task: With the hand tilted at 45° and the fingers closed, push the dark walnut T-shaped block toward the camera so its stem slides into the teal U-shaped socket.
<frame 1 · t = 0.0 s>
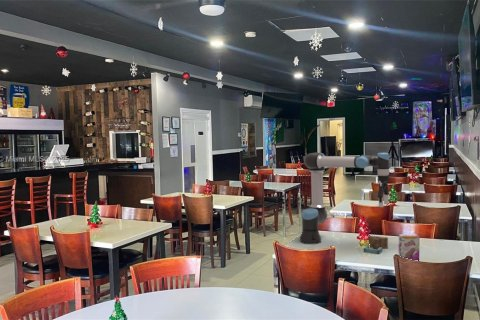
hand: (383, 205, 291), 28 cm above the table, tool pointing down, fingers open, 13 cm apart
candy bar box: (408, 262, 254), on the table
teal T socket: (374, 250, 281), on the table
walnut T block: (376, 248, 286), on the table
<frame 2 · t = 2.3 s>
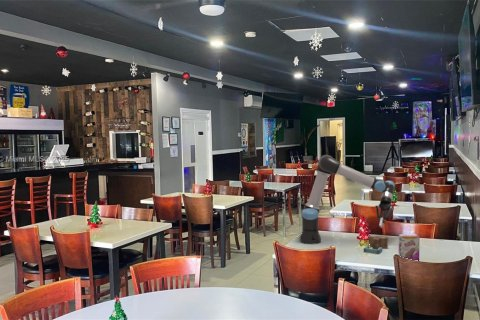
hand: (380, 226, 293), 13 cm above the table, tool tilted 45°, fingers closed
nothing on the table moved.
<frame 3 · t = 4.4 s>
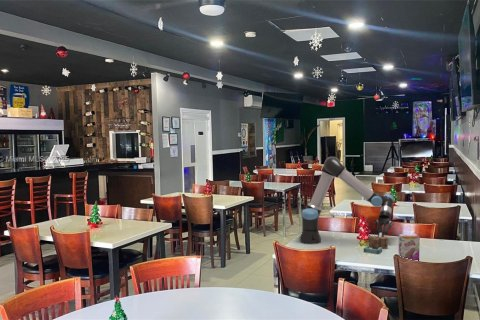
hand: (379, 241, 290), 3 cm above the table, tool tilted 45°, fingers closed
walnut T block: (376, 248, 285), on the table, touching gripper
everything else where it was.
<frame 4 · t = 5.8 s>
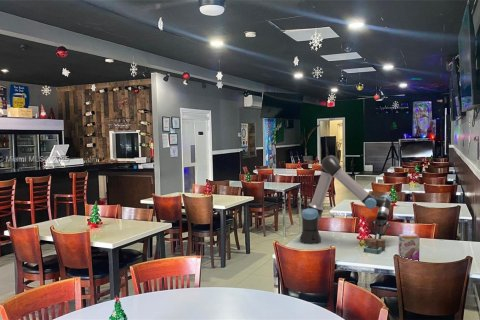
hand: (376, 243, 285), 4 cm above the table, tool tilted 45°, fingers closed
walnut T block: (373, 250, 280), on the table, touching gripper, teal T socket
everything else where it was.
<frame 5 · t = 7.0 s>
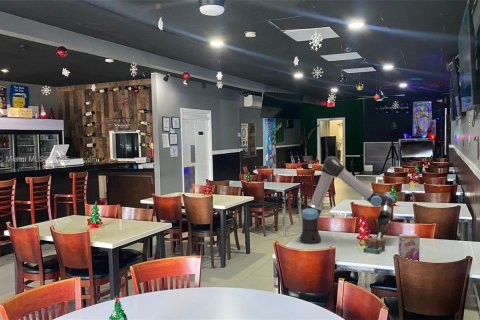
hand: (378, 241, 289), 4 cm above the table, tool tilted 45°, fingers closed
walnut T block: (373, 250, 280), on the table
everything else where it was.
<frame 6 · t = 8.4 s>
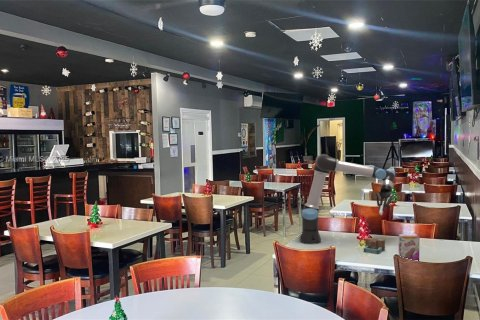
hand: (380, 214, 293), 22 cm above the table, tool tilted 45°, fingers closed
nothing on the table moved.
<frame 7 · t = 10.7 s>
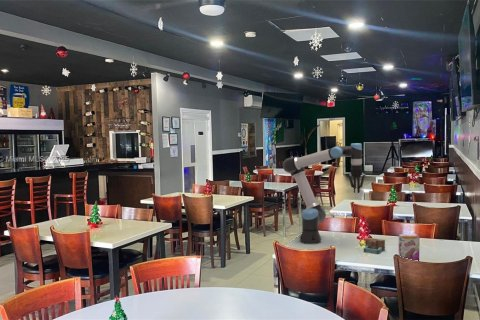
hand: (356, 197, 302), 32 cm above the table, tool pointing down, fingers closed
nothing on the table moved.
at the end: walnut T block 1.0 cm from the target spot, on the table; walnut T block tilted 0° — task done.
